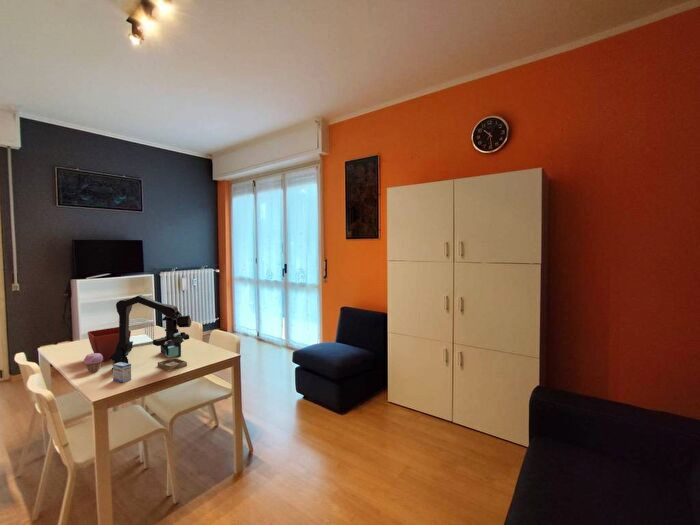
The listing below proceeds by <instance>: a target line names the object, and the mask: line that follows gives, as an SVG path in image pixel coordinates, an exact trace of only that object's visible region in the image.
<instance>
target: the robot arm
mask: <svg viewBox="0 0 700 525" xmlns="http://www.w3.org/2000/svg"><path fill="white" fill-rule="evenodd" d="M135 304H140V305H143V306H146V307H147V308H151V309H154V310H155V311H158V312H160V313H161V314H162V315H164V317H163V318H162V319H161V321H162V322H163V321H165V329H164V332H165V336H164V337H165V338H166V339H161V338H155V339H154V341H153V343H152V345H153V346H156V347H161V346H162V348H163V349H164V351H165V353H166V355H168V345H169V344H167V342H170V341H173V342H174V343H175V346H177V347H178V349H179V346H180V344H181V345H182V343H183V342H185V341H186V340H189V339H190V335H189V334H188V333H186V332H185V331H181V332H179V329H178V328H190V327H191V325H192V320H191V319H192V318H191V316H190V315H183V314H182V313H181V312H180V311H179V310H178V307H177V306H176V305H172V304H167V303H161V302H159V301H156V300H154V299H153V298H149V297H146V296H145V295H142V294H139V295H136V296H134V297H132V298H123V299H120V300H118V301H117V302H116V303H115V308H116V312H117V314H118V317H119V319H118V327H119V341H118V343H117V346H116V350H115V353H114V354H113V355H112V356H111V357H110V358H111V360H110V361H112V365H113V364H116V363H119V362H123V363H128V364H129V358H128V355H129V354H130V353H131V352H132V350H133V349H134V347H133V346H132V344H133V341H132V342H130V340H129V330H130V327H129V326H130V325H129V324H130V323H129V321H130V314H131V312H132V309H133V306H134V305H135ZM111 370H113V367H111Z"/></svg>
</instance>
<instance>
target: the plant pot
mask: <svg viewBox="0 0 700 525" xmlns="http://www.w3.org/2000/svg"><path fill="white" fill-rule="evenodd" d="M131 333H132V331H131V330H130V329H129V340H130V337H131ZM87 336H88V340H89V344H90V346H91V350H92V351H93V352H92V353H100V354H101V355H102V356H103V361H102V362H107V361H112V360H111V358H110V357H111V356H112V355H113V354H114V353H115V350H116V346H117V343H118V341H119V326H115V327H111V328H110V327H109V328H103V329H96V330H90V331H87ZM102 362H101V363H102Z"/></svg>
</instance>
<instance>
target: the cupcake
mask: <svg viewBox="0 0 700 525" xmlns="http://www.w3.org/2000/svg"><path fill="white" fill-rule="evenodd" d="M102 361H103V356H102V355H101V354H100V353H94V352H92V353H88V354H87V355H86V356H85V358H84V359H83V364H84V365H86V368H87V371H88V373H95V372H98V371H99V370H100V369H101V363H102ZM103 362H104V361H103Z"/></svg>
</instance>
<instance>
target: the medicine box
mask: <svg viewBox="0 0 700 525" xmlns="http://www.w3.org/2000/svg"><path fill="white" fill-rule="evenodd" d="M112 368H113V369H112V380H113V381H114V382H118V383H122V384H123V383H127V382H130V381H131V380H132V364H131V363H129V362H128V363H123V362H119V363H116V364H113V363H112Z"/></svg>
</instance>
